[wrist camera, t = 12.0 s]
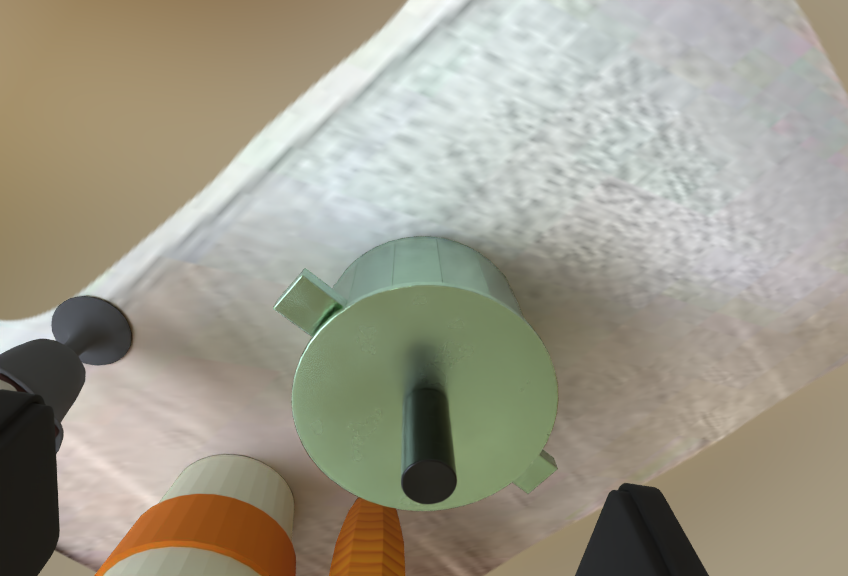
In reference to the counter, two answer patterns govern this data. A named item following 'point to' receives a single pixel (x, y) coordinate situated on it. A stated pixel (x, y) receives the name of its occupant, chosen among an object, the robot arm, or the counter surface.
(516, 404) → the lid
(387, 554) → the carrot
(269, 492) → the reusable coffee cup
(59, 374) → the sundae
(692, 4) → the counter surface
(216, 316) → the counter surface
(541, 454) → the pot
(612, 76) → the counter surface
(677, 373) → the counter surface
